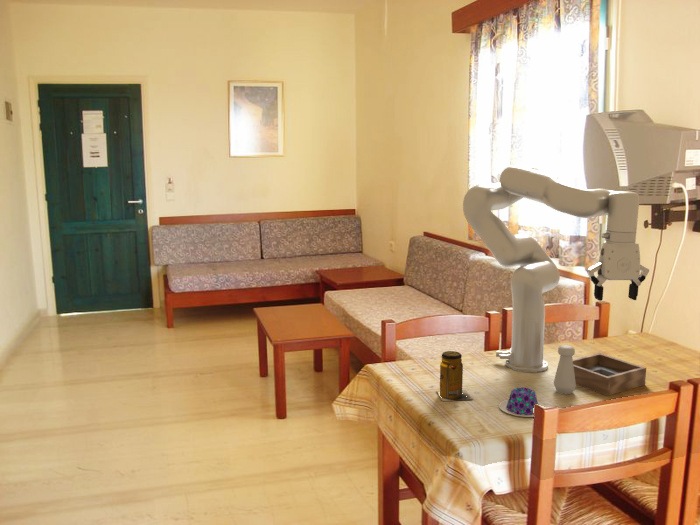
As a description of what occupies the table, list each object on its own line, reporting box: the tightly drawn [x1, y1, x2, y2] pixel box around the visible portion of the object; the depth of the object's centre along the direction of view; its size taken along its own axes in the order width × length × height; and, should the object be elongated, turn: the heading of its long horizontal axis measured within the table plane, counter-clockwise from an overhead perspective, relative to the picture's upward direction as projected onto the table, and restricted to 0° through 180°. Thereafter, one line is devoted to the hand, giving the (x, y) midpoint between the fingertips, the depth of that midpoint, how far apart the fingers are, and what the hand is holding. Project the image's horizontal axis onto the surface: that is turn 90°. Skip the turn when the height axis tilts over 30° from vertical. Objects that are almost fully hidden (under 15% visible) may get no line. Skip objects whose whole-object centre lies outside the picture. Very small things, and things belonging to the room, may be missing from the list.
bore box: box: [572, 352, 647, 397], centre depth 191 cm, size 16×16×5 cm
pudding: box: [498, 386, 546, 418], centre depth 172 cm, size 12×12×5 cm
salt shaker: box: [553, 344, 577, 396], centre depth 183 cm, size 6×6×13 cm
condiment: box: [439, 350, 474, 402], centre depth 180 cm, size 7×8×12 cm
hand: (615, 299), depth 183 cm, fingers open, 9 cm apart
